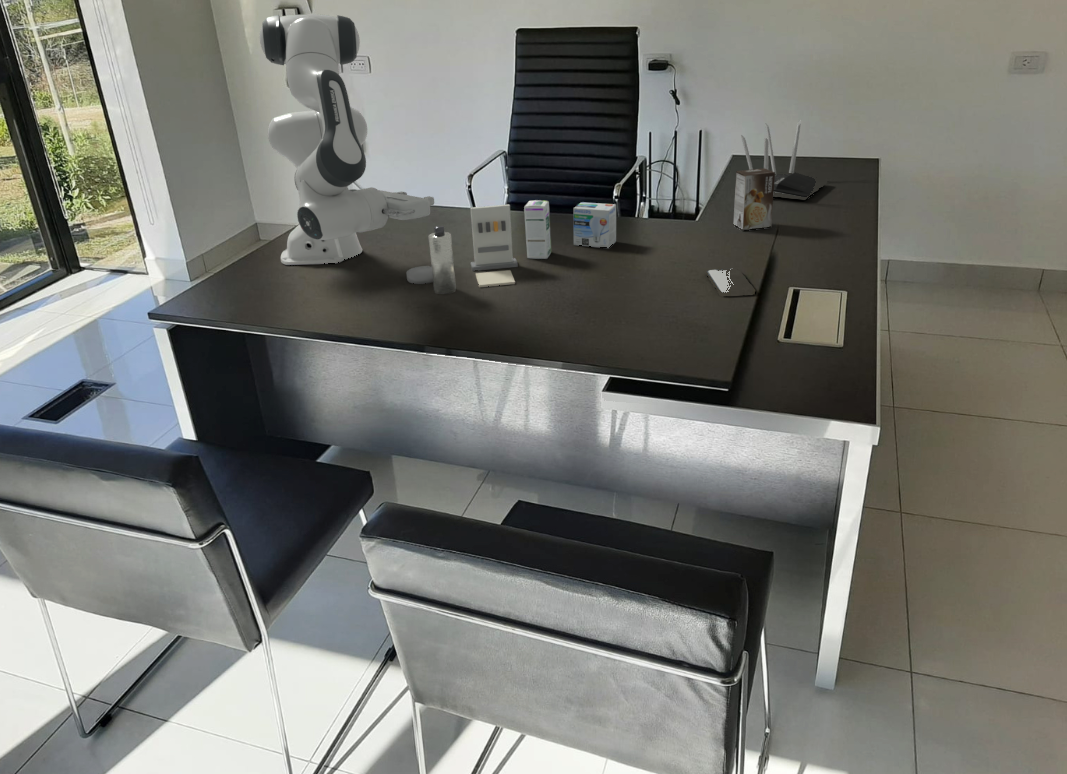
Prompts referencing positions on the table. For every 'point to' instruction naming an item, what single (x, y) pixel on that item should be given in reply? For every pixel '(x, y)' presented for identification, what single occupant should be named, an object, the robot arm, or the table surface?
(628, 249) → the table surface
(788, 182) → the wireless router
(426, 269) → the grey hockey puck
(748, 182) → the coffee box
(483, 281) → the pad
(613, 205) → the light bulb box
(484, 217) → the breaker panel
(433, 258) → the metal bottle
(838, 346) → the table surface
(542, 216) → the syrup box
